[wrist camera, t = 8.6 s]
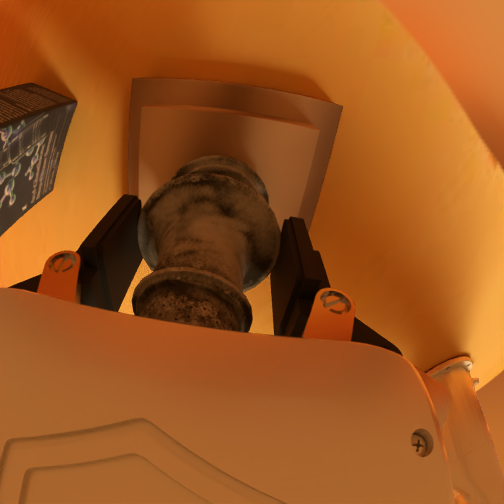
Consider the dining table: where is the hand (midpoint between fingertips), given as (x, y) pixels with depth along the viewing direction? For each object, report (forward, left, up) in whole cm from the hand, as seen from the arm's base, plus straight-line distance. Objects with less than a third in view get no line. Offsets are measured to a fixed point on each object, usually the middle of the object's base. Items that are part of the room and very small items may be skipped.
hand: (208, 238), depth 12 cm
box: (+15, -2, -8) cm, 17 cm away
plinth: (0, 0, -8) cm, 8 cm away
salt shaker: (0, 0, -3) cm, 3 cm away
